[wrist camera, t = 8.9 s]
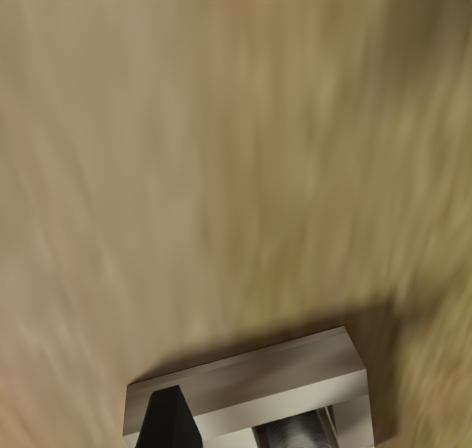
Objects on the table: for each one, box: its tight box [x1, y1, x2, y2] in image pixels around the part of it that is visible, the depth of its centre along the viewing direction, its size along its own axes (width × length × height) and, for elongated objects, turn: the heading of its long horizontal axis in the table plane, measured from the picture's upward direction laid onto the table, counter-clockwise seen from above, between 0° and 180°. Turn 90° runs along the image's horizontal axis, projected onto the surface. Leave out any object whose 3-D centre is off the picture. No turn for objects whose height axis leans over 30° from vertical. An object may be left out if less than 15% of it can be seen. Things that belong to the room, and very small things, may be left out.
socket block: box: [122, 326, 374, 448], centre depth 25 cm, size 12×12×3 cm
